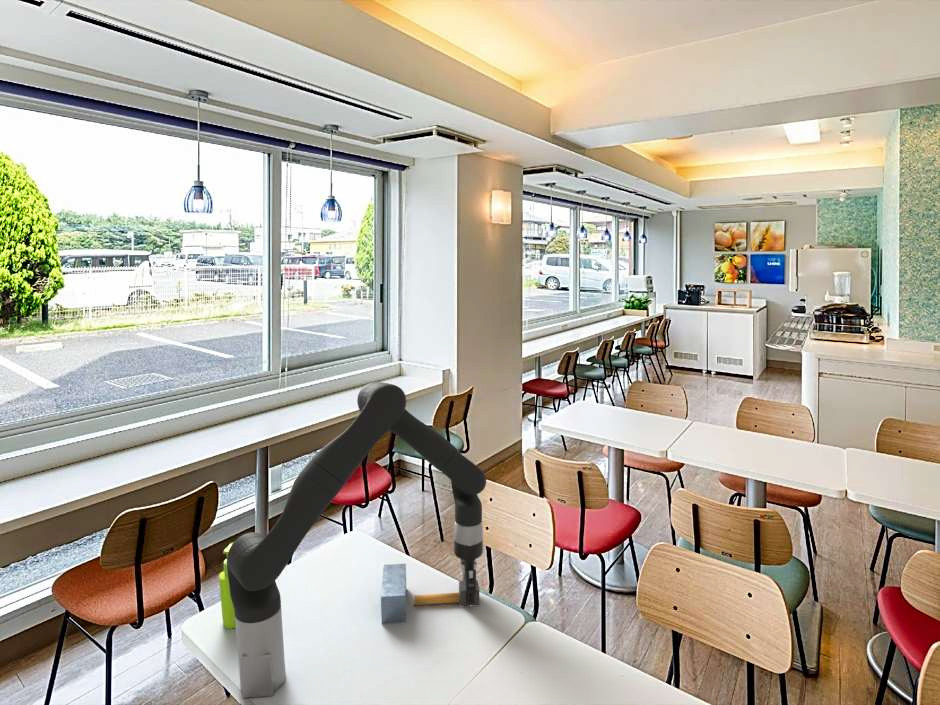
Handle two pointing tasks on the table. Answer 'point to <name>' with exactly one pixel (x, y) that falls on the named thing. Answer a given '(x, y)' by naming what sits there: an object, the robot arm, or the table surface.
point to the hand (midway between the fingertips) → (468, 593)
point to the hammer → (448, 597)
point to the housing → (393, 594)
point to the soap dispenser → (226, 596)
